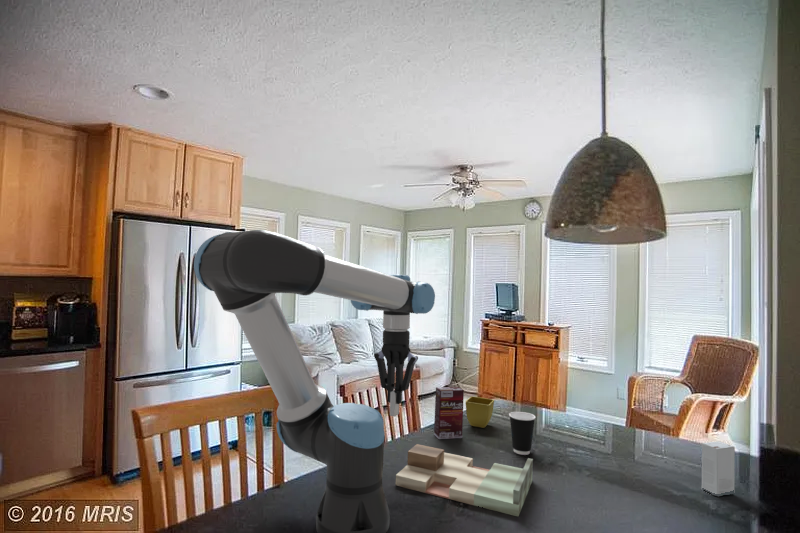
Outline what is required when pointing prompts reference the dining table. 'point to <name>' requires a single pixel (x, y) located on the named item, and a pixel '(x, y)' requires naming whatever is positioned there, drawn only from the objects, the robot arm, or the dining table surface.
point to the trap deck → (472, 483)
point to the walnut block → (425, 457)
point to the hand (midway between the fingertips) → (394, 414)
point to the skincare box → (718, 467)
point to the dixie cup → (522, 431)
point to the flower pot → (479, 411)
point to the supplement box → (448, 412)
